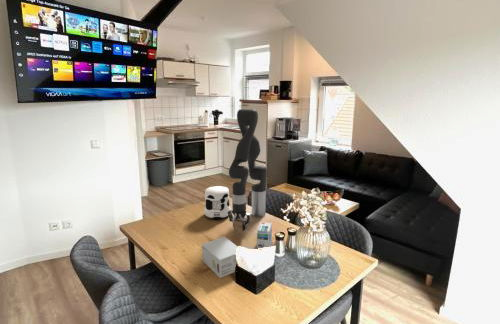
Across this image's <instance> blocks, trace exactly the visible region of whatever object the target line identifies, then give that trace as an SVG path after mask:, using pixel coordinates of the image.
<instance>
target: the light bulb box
mask: <svg viewBox="0 0 500 324" xmlns="http://www.w3.org/2000/svg"><path fill="white" fill-rule="evenodd" d="M256 237H257V238H256V249H257V248H263V247H269V246H270V247H271V245H272V240H273V239H272V238H273V223H272V222H263V221H260V222H259V224H258V227H257V229H256Z"/></svg>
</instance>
